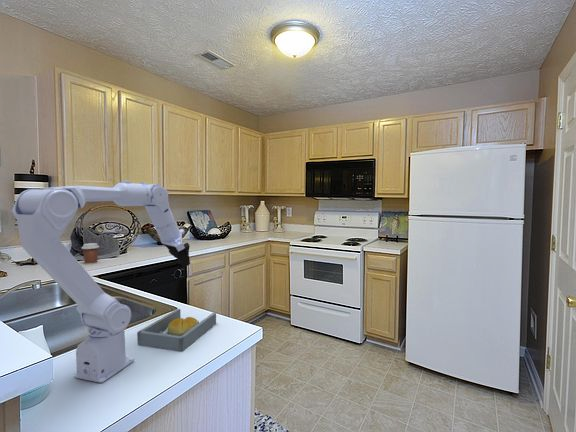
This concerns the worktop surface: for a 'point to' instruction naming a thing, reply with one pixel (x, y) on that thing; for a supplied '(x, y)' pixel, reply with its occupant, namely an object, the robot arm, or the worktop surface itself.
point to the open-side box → (179, 343)
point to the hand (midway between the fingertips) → (182, 260)
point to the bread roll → (181, 326)
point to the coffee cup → (90, 253)
